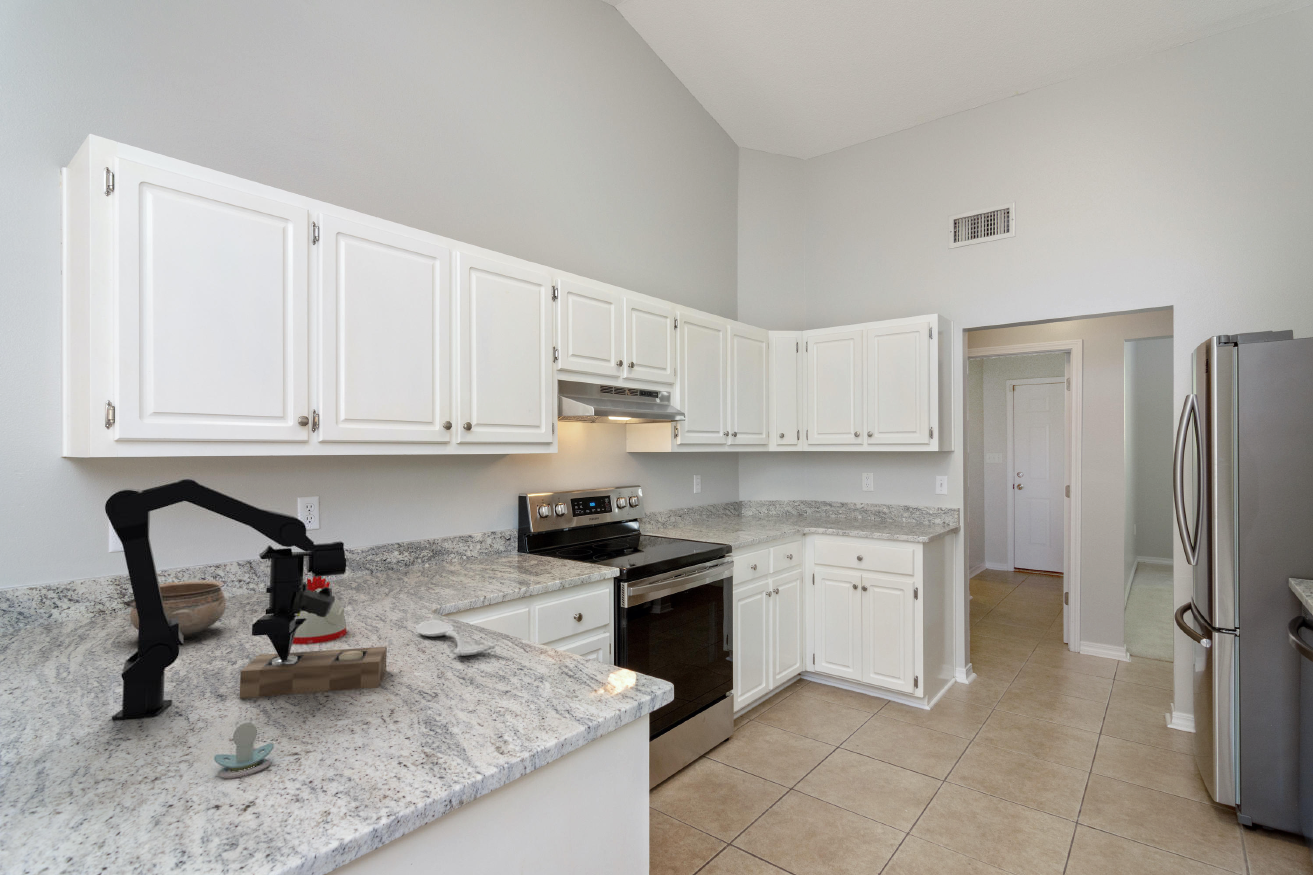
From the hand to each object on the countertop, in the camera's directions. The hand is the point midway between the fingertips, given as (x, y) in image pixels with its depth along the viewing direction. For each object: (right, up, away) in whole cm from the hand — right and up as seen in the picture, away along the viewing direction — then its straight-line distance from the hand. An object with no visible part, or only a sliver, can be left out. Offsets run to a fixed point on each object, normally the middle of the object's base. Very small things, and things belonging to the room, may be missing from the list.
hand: (284, 659), depth 124 cm
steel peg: (0, -5, 0) cm, 5 cm away
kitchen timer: (-12, -6, +34) cm, 37 cm away
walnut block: (+6, -5, +1) cm, 8 cm away
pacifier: (+13, -5, -32) cm, 35 cm away
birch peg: (+12, -5, +3) cm, 13 cm away
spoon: (+24, -7, +28) cm, 38 cm away
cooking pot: (-45, -6, +31) cm, 55 cm away
